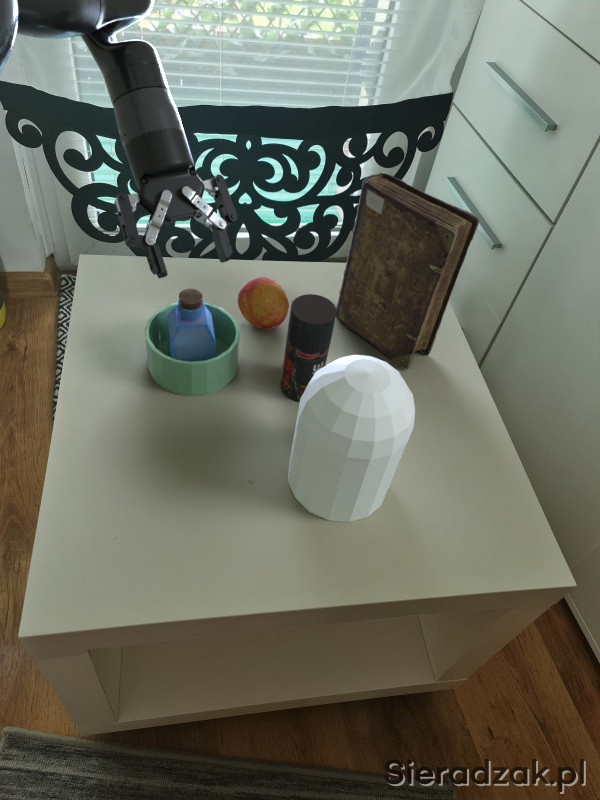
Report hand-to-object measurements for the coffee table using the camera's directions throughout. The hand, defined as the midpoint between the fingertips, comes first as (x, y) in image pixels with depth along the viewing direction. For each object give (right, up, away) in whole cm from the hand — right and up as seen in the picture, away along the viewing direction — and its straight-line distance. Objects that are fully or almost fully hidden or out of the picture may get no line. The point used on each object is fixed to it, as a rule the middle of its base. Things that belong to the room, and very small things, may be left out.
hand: (195, 268), depth 77 cm
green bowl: (-3, -11, +14) cm, 18 cm away
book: (+26, -6, +24) cm, 36 cm away
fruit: (+7, -4, +22) cm, 24 cm away
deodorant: (+13, -15, +14) cm, 24 cm away
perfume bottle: (-3, -11, +14) cm, 18 cm away
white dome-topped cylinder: (+18, -27, +4) cm, 33 cm away
